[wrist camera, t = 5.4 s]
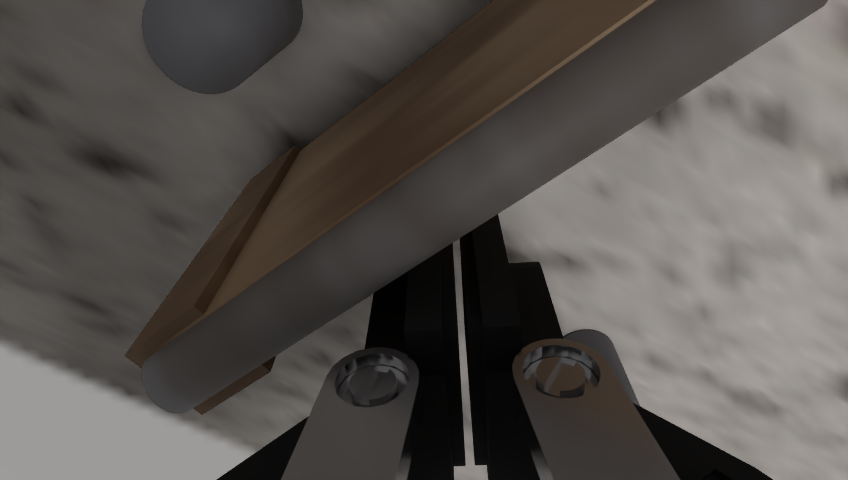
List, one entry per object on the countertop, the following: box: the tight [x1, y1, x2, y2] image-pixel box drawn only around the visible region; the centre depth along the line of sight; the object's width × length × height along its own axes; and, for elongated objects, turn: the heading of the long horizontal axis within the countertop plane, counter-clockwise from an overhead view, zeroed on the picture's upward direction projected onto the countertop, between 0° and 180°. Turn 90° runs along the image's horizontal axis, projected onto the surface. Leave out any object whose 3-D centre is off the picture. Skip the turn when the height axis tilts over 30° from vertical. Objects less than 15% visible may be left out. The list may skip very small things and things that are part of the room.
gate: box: [125, 0, 828, 414], centre depth 10 cm, size 10×2×8 cm, turn 127°
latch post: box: [563, 330, 640, 406], centre depth 15 cm, size 2×2×8 cm
